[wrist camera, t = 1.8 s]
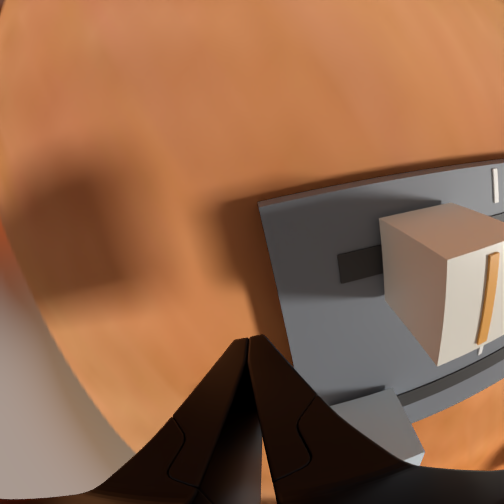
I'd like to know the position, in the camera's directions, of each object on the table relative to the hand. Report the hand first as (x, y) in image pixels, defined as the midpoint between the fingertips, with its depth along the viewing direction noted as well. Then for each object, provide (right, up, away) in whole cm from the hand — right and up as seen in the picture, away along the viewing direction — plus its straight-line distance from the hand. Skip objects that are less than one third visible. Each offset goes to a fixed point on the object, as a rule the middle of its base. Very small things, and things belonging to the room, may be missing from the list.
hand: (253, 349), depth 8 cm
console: (+13, 0, +5) cm, 14 cm away
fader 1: (+6, -6, +6) cm, 10 cm away
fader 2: (+7, +3, +3) cm, 8 cm away
